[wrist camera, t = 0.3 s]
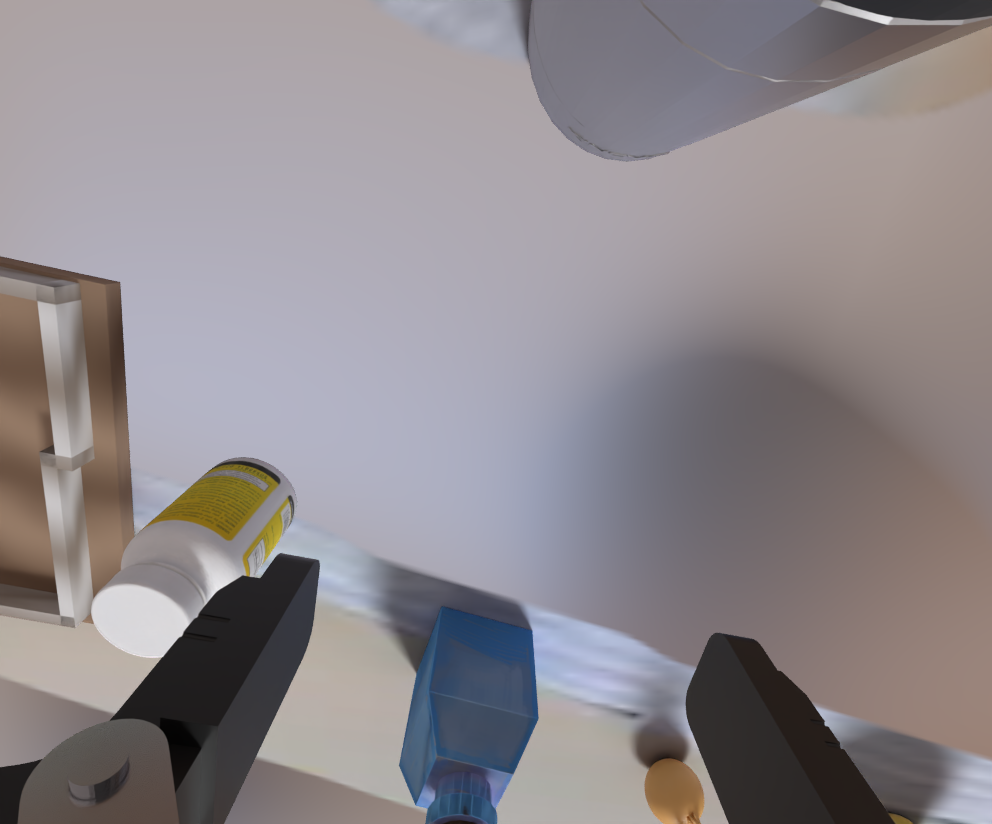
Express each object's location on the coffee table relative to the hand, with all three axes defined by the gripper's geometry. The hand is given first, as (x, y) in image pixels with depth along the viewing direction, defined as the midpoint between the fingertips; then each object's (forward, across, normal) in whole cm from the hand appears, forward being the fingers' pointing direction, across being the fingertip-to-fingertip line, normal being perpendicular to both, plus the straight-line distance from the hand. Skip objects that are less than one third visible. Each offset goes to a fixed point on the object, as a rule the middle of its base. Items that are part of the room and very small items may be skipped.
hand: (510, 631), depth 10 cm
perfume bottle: (+19, -2, +18) cm, 27 cm away
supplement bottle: (+18, +13, +9) cm, 24 cm away
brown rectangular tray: (+18, +26, +9) cm, 33 cm away
